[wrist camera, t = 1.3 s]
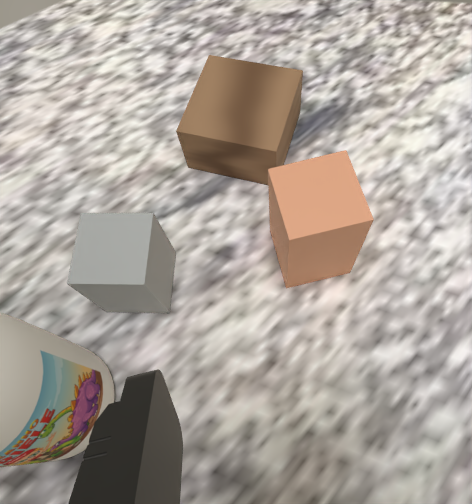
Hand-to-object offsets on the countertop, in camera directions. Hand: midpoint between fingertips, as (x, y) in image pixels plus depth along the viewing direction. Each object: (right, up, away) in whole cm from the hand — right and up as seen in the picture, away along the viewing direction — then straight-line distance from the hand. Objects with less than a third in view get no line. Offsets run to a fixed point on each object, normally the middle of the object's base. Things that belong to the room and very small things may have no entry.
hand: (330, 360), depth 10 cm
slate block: (-10, 0, +24) cm, 26 cm away
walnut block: (-1, +13, +29) cm, 31 cm away
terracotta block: (+4, +3, +24) cm, 25 cm away
